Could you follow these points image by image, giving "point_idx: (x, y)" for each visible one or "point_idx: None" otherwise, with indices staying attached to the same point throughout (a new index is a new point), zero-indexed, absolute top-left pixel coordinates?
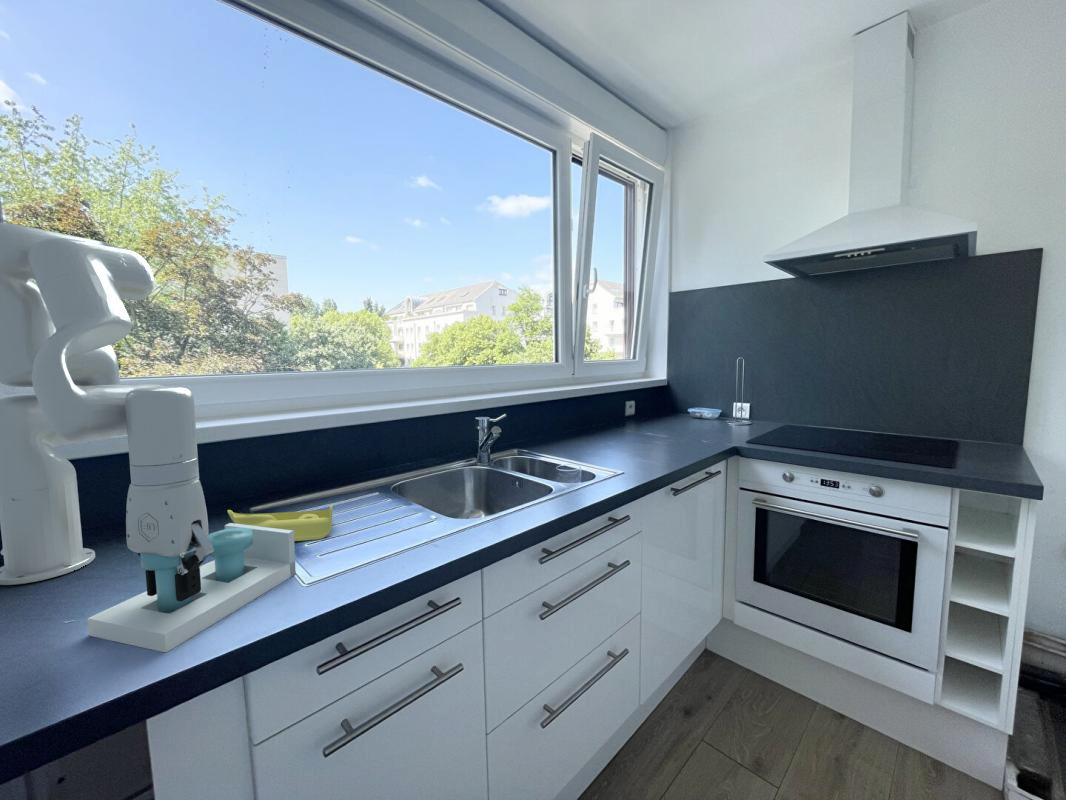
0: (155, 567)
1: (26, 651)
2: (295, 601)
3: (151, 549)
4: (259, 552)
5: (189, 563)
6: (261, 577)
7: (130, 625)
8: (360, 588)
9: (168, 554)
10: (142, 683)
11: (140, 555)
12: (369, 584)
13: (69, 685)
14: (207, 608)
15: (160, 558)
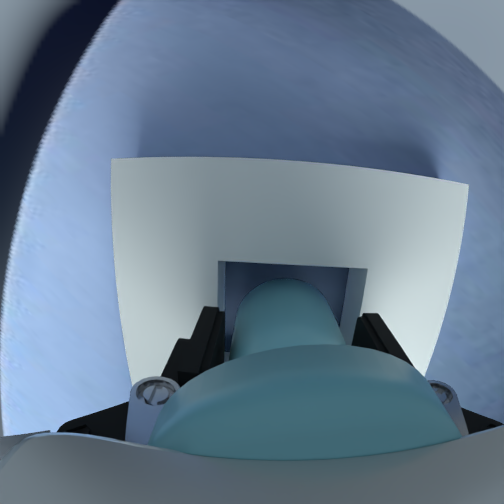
0: (249, 367)
1: (496, 111)
2: (67, 391)
3: (328, 500)
4: None
5: (113, 428)
6: None
7: (286, 169)
8: (23, 421)
9: (90, 449)
10: (89, 68)
11: (440, 420)
12: (24, 430)
13: (252, 9)
14: (128, 310)
15: (205, 432)
